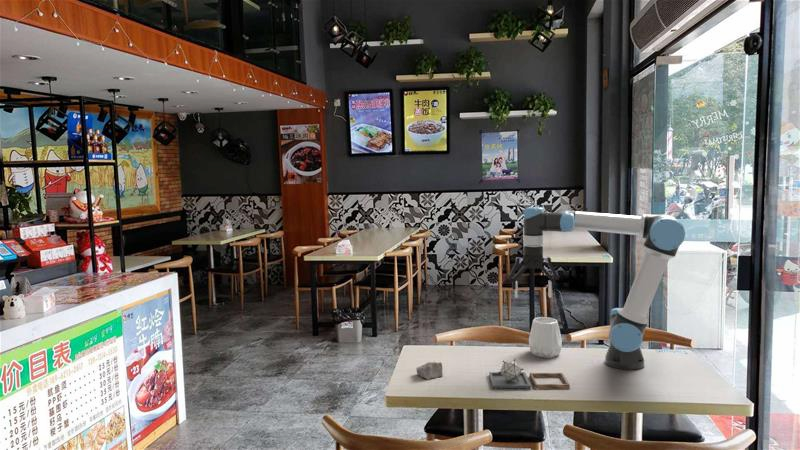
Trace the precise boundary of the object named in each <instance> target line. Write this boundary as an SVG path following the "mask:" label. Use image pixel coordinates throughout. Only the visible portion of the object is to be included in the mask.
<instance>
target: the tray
mask: <svg viewBox="0 0 800 450" xmlns="http://www.w3.org/2000/svg"><path fill="white" fill-rule="evenodd" d="M498 372H499V371H489V372H488V377H489V379H490V380H489V382H490V384H491V387H492V390H532V385H531V382H530V380H529V378H528V375H527V374H526V372H524V371H521V373H520V375H519V377H518V380H519V381H517V380H512V381H508V383H506V381H507V380H506V379H505V378H504V377H503V375H502V374H501V373H498Z"/></svg>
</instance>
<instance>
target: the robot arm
mask: <svg viewBox="0 0 800 450" xmlns="http://www.w3.org/2000/svg"><path fill="white" fill-rule="evenodd" d="M523 213H524V216H523V245H524V246H523V257H518V256H516V257H515V262H514V264H513V266H512V268H511V270H510V272H509V274H508V276H507V280H508V281H511V288H512V290H514V298H515V299H518V297H519V295H518V288H519V287H518V281H517V280H518V279H519V278H520V276H522V274H523V273H524V272H525V271H526V270H527V269H530V270H531V269H541V271H542V272H543V273H544V274H545V276H546V277H548V279H549V280H547V281H548V285H547V288H548V289H547V291H548V292H547V296H548V298H550V299H551V298H552V290H554V289H555V282H556V281H559V280H560V278H559V276H558V272H557V271H556V270H555V268H554V266H553V263H552V258H551V257H550V256H546V257H544V251H543V250H544V247H543V245H544V232H557V233H558V232H559V233H560V232H561V233H562V232H563V233H566V232H567V233H568V232H570V233H571V232H573V231H574V230H580V231H589V232H590V231H591V232H600V233H601V232H602V233H611V234H621V235H631V236H632V235H633V236H639V237H640V238H641V239H645V241H644V243H643V247H644V250H645V253H644V255H643V258H642V260H641V263H640V265H639V268H638V270H637V273H636V275H635V278H634V280H633V282H632V285H631V288H630V290H629V293H628V296H627V297H626V301H625V303H624V305H623V307H615V308H612V309H611V310H610V314H609V316H610V326H609V335H608V337H609V346H608V349H607V351H606V354H605V359H604V360H605V361H604V363H605V364H606V365H607V366H609V367H612V368H615V369H621V370H627V371H628V370H630V371H632V370H633V371H634V370H640V369H642V368H644V367H645V358H644V355H643V352H642V349H641V345H642V343H643V339H644V338H643V337H644V333H645V331H646V329H647V326H648V324H649V321H648V319H647V315H648V312H649V309H650V308H651V305H652V302H653V300H654V297H655V295H656V293H657V290H658V288H659V285H660V282H661V281H662V278H663V275H664V273H665V270H666V267H667V266H668V263H669V261H670V260H671V259H673V258H675V257H676V254H677V252H678V250H679V248H680V246H681V245H682V244H683V243H684V240H685V237H686V231H685V226H684V224H683V223H682V222H681V221H680V220H679V219H678V218H677V217H675V216H673V215H671V214H646V213H644V214H642V215H640V216H639V215H627V214H615V213H605V212H603V213H602V212H591V211H579V210H568V209H566V208H565V209H563V208H562V209H558V210H556V211H555V212H545V211H544V208H543V207H541V206H540V207H539V206H529V207H526V208H525V209H524V212H523ZM522 262H523V263H524V264H523V265H522V266H521V268H520V269H519V270H518V271H517V269H518V267H519V265H520V264H521V263H522ZM544 262H545V263H547V265H548V267H549V269H550V271H551V274H552V275H553V276H552V275H551V274H550V273H549V271H548V270H547V269H546V268H545V267H544V266H543V263H544ZM516 271H517V272H516Z"/></svg>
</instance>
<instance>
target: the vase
mask: <svg viewBox="0 0 800 450" xmlns="http://www.w3.org/2000/svg"><path fill="white" fill-rule="evenodd" d="M562 341H563V340H562V336H561V330H560V327H559V322H558V319H556V318H554V317H547V316H546V317H545V316H540V317H534V318H533V320H532V323H531V328H530V333H529V337H528V344H529V350H530V353H531V354H532V355H533V356H536V357H539V358H547V359H549V358H554V357H557V356H559V355H560V353H561V351H562V346H563V345H562V343H563V342H562Z"/></svg>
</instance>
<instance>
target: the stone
mask: <svg viewBox="0 0 800 450" xmlns="http://www.w3.org/2000/svg"><path fill="white" fill-rule="evenodd" d="M416 373H417V375H419V377H420V378H422V379H426V380H430V379H436V378H441V377H443V376H444V374H443V364H442V362H436V361H433V362H431V361H428V362H427V363H425V364H423V365H420V366H418V367H416Z"/></svg>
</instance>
